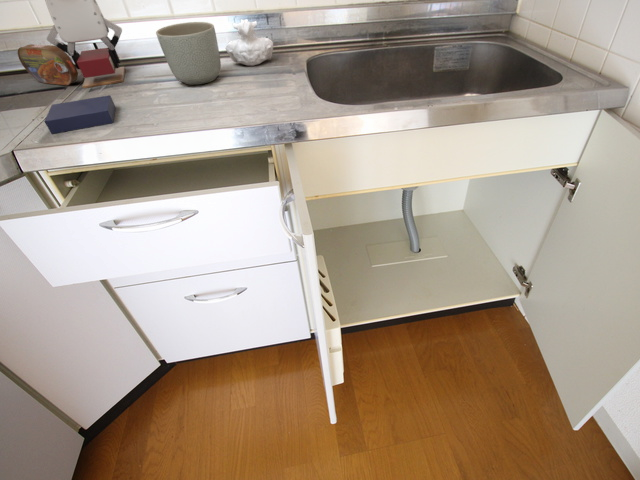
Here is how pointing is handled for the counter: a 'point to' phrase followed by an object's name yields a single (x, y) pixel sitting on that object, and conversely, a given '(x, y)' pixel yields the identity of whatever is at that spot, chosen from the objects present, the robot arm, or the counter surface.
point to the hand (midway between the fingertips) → (100, 68)
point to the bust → (249, 45)
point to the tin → (48, 64)
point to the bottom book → (80, 114)
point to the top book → (95, 63)
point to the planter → (191, 51)
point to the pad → (105, 79)
